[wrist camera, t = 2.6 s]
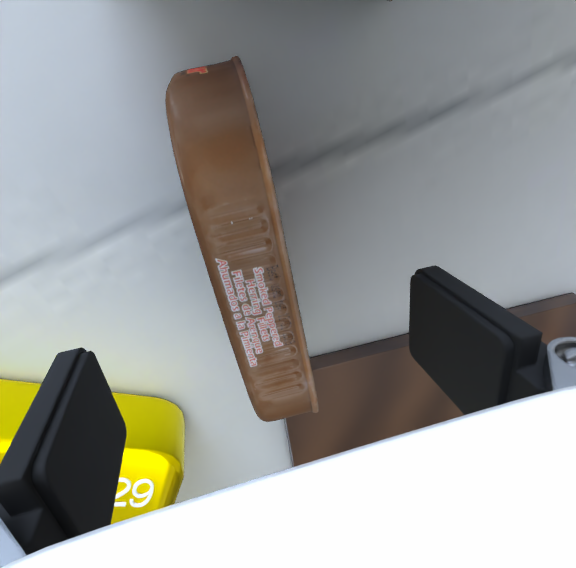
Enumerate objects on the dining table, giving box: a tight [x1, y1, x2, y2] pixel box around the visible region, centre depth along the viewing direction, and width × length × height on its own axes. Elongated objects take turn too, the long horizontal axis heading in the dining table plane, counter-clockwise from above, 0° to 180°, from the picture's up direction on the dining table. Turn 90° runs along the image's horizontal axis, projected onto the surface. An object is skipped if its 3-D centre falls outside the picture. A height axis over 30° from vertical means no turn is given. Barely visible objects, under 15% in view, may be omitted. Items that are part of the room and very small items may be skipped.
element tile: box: [0, 379, 185, 524], centre depth 21 cm, size 15×15×5 cm
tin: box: [166, 56, 318, 422], centre depth 16 cm, size 15×3×8 cm, turn 10°
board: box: [284, 293, 576, 467], centre depth 29 cm, size 22×18×1 cm
